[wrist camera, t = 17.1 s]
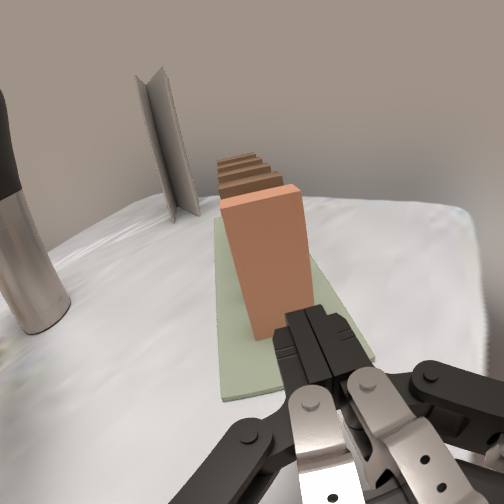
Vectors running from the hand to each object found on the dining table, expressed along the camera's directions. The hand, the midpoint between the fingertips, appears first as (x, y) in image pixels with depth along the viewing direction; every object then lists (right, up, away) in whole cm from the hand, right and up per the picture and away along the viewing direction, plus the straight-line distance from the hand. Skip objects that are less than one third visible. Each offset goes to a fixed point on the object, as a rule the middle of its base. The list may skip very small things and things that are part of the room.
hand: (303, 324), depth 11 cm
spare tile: (0, -3, +12) cm, 12 cm away
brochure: (-16, +12, +49) cm, 53 cm away
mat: (-1, +2, +23) cm, 23 cm away
